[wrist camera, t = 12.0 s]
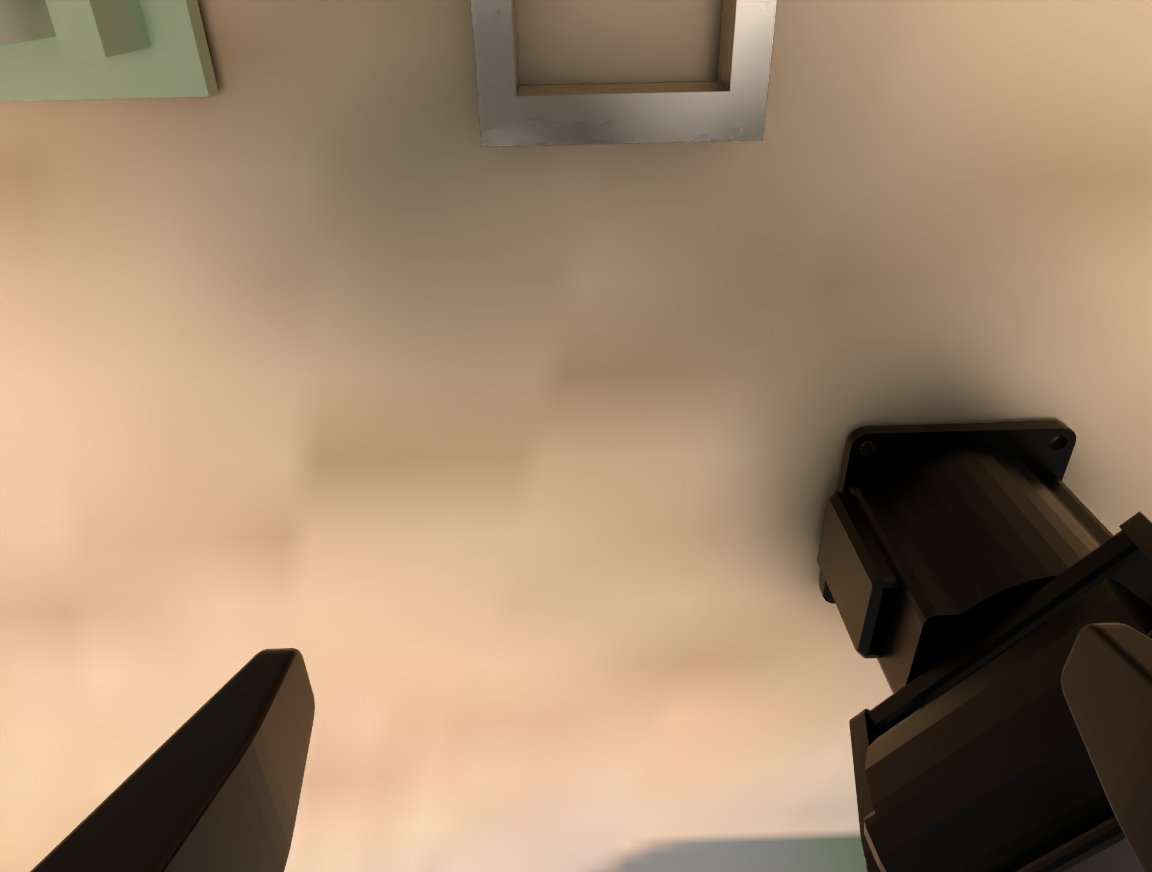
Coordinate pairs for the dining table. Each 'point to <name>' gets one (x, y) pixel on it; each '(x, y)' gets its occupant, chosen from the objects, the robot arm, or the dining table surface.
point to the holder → (112, 53)
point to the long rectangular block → (24, 21)
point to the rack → (624, 90)
